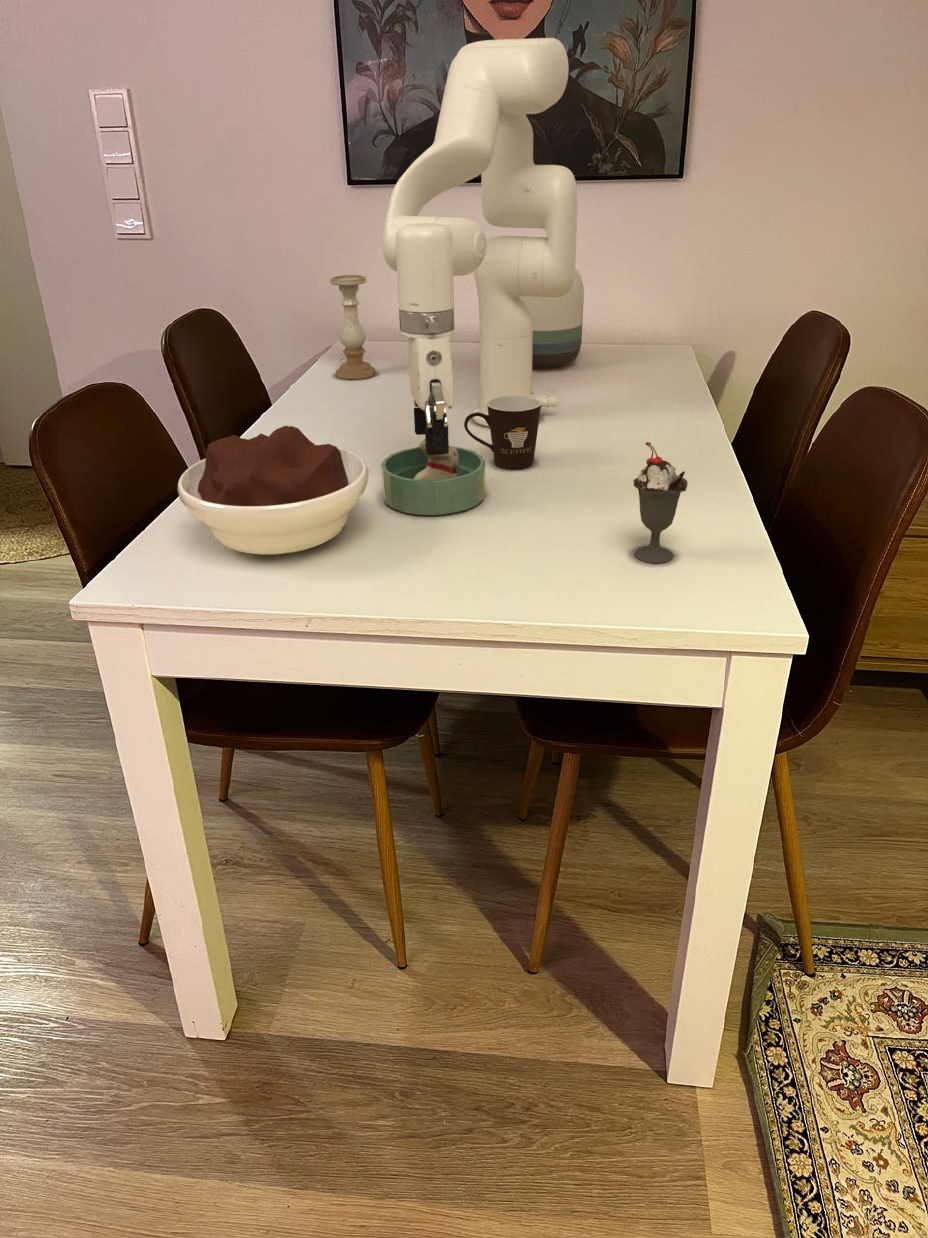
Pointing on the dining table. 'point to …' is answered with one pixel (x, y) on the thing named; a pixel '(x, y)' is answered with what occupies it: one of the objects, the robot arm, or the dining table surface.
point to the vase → (556, 326)
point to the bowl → (432, 483)
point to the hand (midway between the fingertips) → (431, 443)
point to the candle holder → (352, 330)
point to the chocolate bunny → (439, 465)
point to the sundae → (658, 504)
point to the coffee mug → (511, 430)
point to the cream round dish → (273, 491)
